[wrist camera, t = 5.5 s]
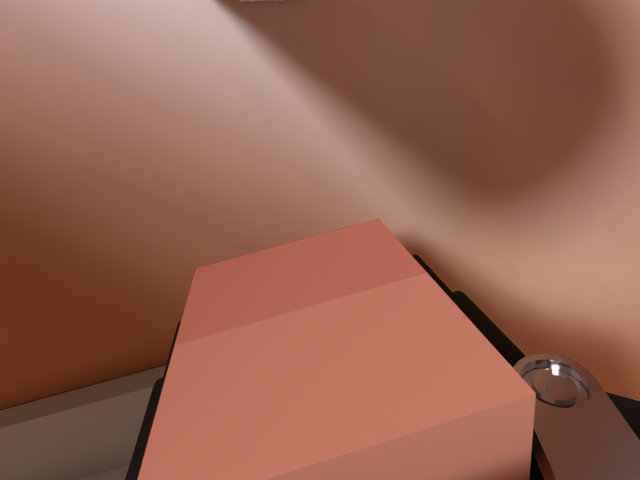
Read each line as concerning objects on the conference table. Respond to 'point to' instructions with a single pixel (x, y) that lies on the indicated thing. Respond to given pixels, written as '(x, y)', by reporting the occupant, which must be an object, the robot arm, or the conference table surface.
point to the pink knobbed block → (335, 373)
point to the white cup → (263, 0)
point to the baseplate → (77, 431)
